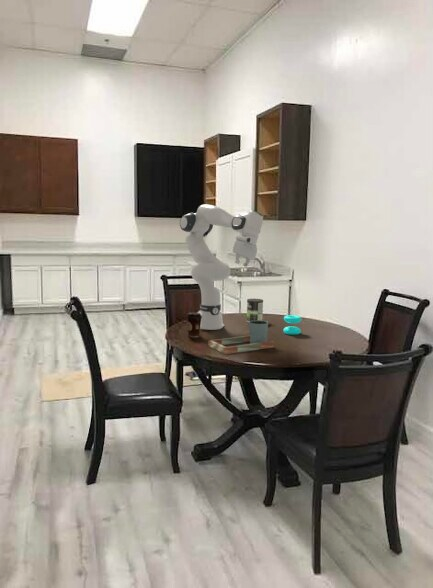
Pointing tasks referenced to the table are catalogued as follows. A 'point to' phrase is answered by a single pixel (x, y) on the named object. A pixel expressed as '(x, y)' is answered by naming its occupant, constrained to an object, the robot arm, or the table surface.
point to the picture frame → (219, 344)
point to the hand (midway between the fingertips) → (241, 265)
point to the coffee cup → (193, 324)
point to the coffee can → (254, 309)
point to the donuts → (291, 329)
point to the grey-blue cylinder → (258, 331)
